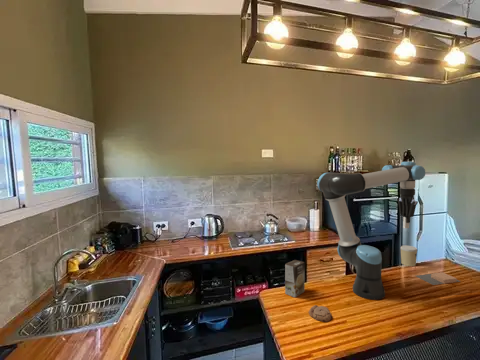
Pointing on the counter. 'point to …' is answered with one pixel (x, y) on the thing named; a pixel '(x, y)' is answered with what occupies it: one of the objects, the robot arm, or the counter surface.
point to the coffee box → (294, 278)
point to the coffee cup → (408, 255)
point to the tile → (443, 277)
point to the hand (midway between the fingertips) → (406, 227)
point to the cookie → (320, 313)
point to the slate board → (431, 279)
